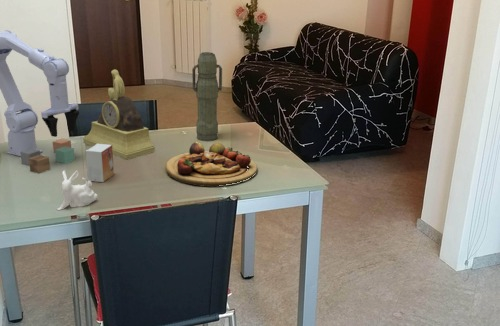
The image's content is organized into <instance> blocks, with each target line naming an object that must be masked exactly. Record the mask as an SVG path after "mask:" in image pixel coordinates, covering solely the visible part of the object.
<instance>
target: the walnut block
mask: <svg viewBox="0 0 500 326" xmlns="http://www.w3.org/2000/svg"><path fill="white" fill-rule="evenodd" d="M50 163H51V162H50V156H46V155H43V154H40V155H38V156H35V157H32V158H29V165H30V166H29V170H30V172H34V173H37V174H42V173H44V172H47V171H50V170H51V165H50Z"/></svg>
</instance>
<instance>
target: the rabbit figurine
mask: <svg viewBox="0 0 500 326" xmlns="http://www.w3.org/2000/svg"><path fill="white" fill-rule="evenodd" d="M79 175H80V173H79V171H78V170H75V172H73V174H71V175H70V177H69V178H68V176H67V172H66V170H62V177H63V181H62V182H61V191H62V195H63V197H64V198H63V201H62V202H61V204H60V206H59V207H57V208H56V211H62V210H64V209H65V208H67V207H68V206H69V207H70V208H76V207H77V208H82V207H84V206H88V205H91V203H93V202H96V200H97V199H98V194H97V193H95V192H94V190H93V189H91V187H92V185H93V183H92V182H93V181H88V178H86V177H82V178H81V179H82V181H84V182H85V183H84V184H81V183H79V184H72V182H73V181H74V180H75V179H76V178H78V177H79Z"/></svg>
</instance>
